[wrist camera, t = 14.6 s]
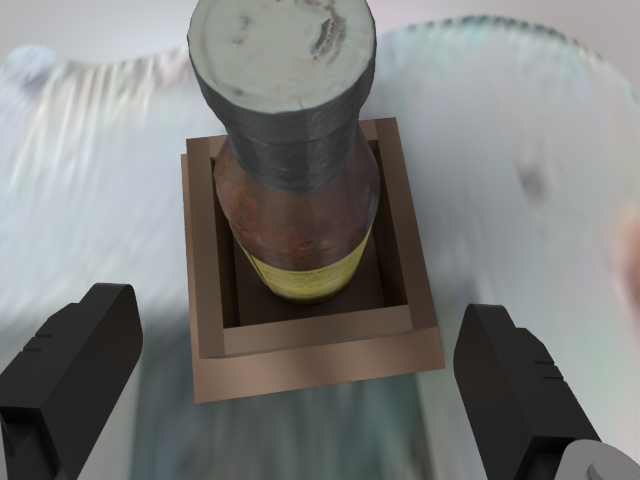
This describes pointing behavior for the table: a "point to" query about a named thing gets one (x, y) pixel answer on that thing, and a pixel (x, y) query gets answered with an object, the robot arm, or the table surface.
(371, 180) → the sauce bottle
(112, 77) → the table surface
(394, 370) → the bottle stand
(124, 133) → the table surface
